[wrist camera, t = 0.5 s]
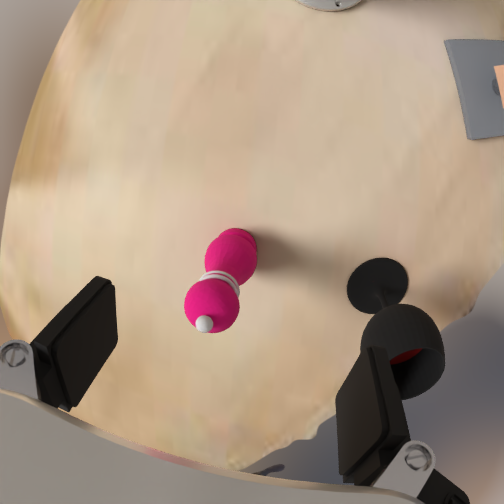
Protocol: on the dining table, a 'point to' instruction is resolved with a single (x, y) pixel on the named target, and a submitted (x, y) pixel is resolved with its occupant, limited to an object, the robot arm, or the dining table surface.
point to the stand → (478, 84)
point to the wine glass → (397, 326)
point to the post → (495, 86)
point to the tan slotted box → (500, 80)
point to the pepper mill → (221, 281)
